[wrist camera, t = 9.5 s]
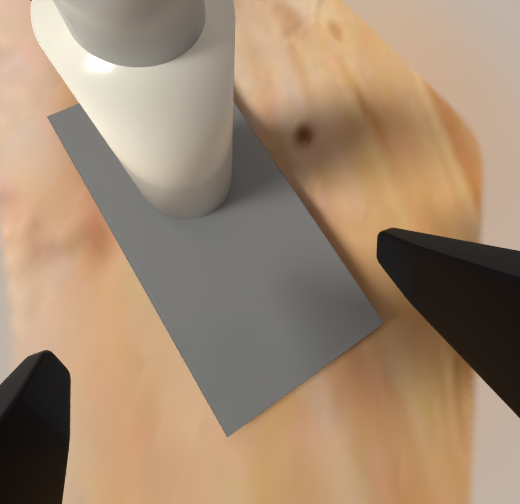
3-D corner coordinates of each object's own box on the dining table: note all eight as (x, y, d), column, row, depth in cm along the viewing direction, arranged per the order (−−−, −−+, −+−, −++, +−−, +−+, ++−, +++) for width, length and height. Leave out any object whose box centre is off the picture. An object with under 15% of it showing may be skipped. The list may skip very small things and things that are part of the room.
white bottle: (250, 177, 18) (299, -143, 5) (185, 238, 16) (59, 4, 4) (187, 120, 18) (100, -298, 6) (119, 175, 17) (-170, -204, 5)
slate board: (375, 323, 17) (383, 323, 16) (227, 430, 15) (227, 437, 14) (201, 65, 20) (200, 52, 19) (56, 127, 18) (47, 116, 17)
